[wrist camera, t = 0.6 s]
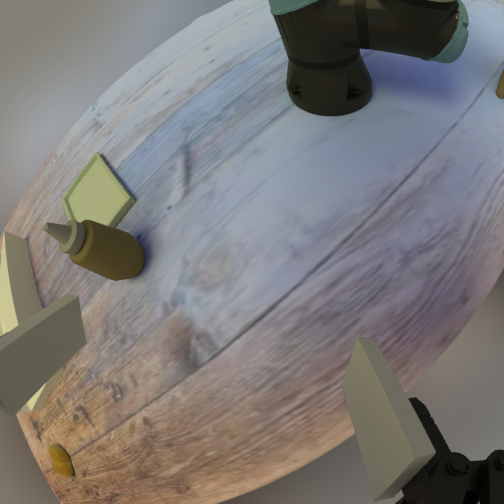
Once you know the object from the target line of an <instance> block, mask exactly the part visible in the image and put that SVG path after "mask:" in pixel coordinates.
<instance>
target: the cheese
mask: <svg viewBox="0 0 504 504" xmlns="http://www.w3.org/2000/svg"><path fill="white" fill-rule="evenodd" d="M496 94H497V95H498V96H499V97H500V98H504V70H503V72H502V75H501V78H500V81H499V84H498V87H497V91H496Z"/></svg>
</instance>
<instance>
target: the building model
mask: <svg viewBox="0 0 504 504" xmlns="http://www.w3.org/2000/svg"><path fill="white" fill-rule="evenodd" d="M42 309H43V308H42V305H41V302H40V298H39V295H38V291H37V287H36V284H35V280H34V276H33V271H32V267H31V262H30V257H29V252H28V247H27V241H26V239H23V238H21V237H18V236H16V235H13V234H11V233H8V232H6V231H4V237H3V244H2V254H1V265H0V337H1V336H2V335H3V334H5V333H6V332H9V331H10V330H12V329H13V328H15V327H16V326H18V325H19V324H21V323H22V322H24V321H25V320H27V319H28V318H30V317H31V316H33V315H34V314H36V313H37V312H39V311H41V310H42ZM64 370H65V367H64V365H63V366H62V367H61V368H60V369H59V370H58V371H57V372H56V373H55V374H54V375H53V376H52V377H51V378H50V379H49V380H48V381H47V382H46V383H45V384H44V385H43V386H42V387H41V388H40V389H39V390H38V392H37V393H36V394H35V395H34V396H33V397H32V398H31V399H30V400H29V401H28V402H27V403H26V404H25V405H24V406H23V407H22V408H21V409H20V410H19V412H31V411H40V410H41V408H42V407H43V405H44V403H45V401H46V400H47V398H48V396H49V395H50V393H51V391H52V390H53V388H54V386H55V385H56V383H57V381H58V380H59V378H60V377H61V375H62V373H63V372H64Z"/></svg>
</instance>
